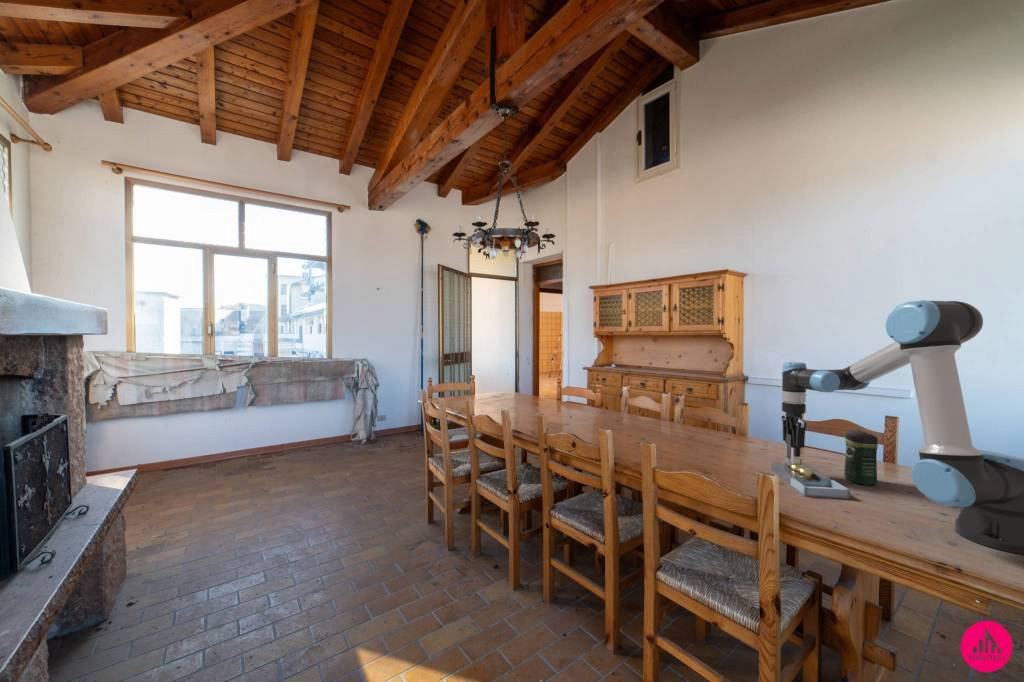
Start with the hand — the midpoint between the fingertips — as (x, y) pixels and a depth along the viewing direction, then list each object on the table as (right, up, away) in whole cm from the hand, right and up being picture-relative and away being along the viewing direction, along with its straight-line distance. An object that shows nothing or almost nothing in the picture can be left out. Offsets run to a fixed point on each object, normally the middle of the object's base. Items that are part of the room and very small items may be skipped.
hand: (792, 462), depth 156 cm
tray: (-3, -5, -17) cm, 18 cm away
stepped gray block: (0, -2, 0) cm, 2 cm away
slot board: (-1, -5, -5) cm, 7 cm away
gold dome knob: (-1, -3, -8) cm, 9 cm away
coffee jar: (+20, -5, -7) cm, 22 cm away
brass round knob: (-1, -3, -4) cm, 5 cm away
